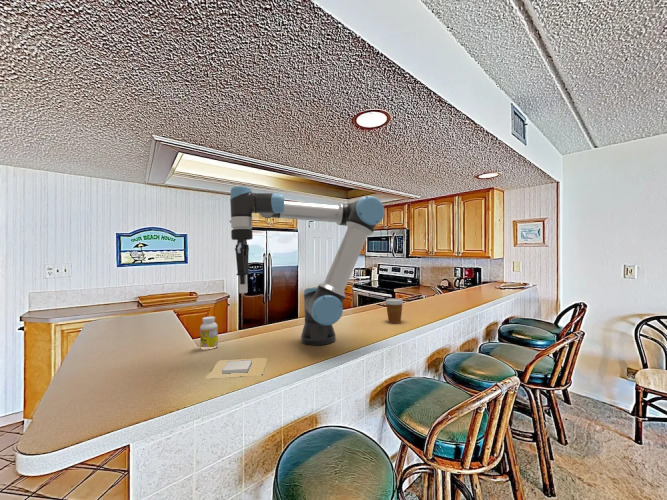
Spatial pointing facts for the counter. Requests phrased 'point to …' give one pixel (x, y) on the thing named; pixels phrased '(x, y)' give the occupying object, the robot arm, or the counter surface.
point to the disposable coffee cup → (394, 310)
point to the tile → (237, 367)
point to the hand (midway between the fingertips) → (243, 292)
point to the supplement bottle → (209, 332)
